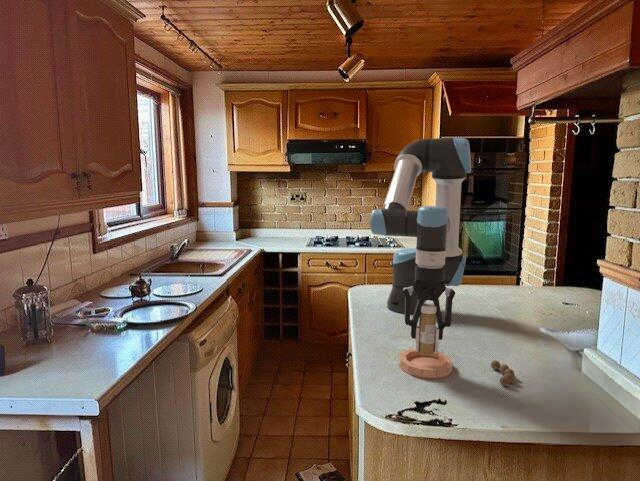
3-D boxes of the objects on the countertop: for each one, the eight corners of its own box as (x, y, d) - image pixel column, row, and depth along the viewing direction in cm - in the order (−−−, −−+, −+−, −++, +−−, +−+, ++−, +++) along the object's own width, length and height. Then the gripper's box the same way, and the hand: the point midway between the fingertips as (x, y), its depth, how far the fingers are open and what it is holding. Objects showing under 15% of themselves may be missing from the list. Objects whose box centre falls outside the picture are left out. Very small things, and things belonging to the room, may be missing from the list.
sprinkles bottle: (415, 349, 117) (417, 302, 115) (431, 348, 117) (433, 301, 115) (420, 356, 112) (422, 307, 110) (437, 355, 113) (439, 306, 111)
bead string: (487, 366, 116) (488, 358, 115) (506, 367, 115) (506, 359, 115) (501, 387, 104) (502, 378, 104) (521, 389, 104) (522, 379, 103)
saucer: (397, 354, 123) (397, 347, 123) (446, 357, 122) (446, 349, 121) (401, 377, 109) (401, 368, 109) (457, 380, 108) (457, 371, 108)
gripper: (397, 267, 109) (394, 354, 112) (467, 269, 107) (462, 357, 110) (395, 261, 116) (392, 343, 119) (461, 263, 114) (456, 346, 118)
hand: (425, 349), depth 115 cm, fingers closed on sprinkles bottle, 4 cm apart
